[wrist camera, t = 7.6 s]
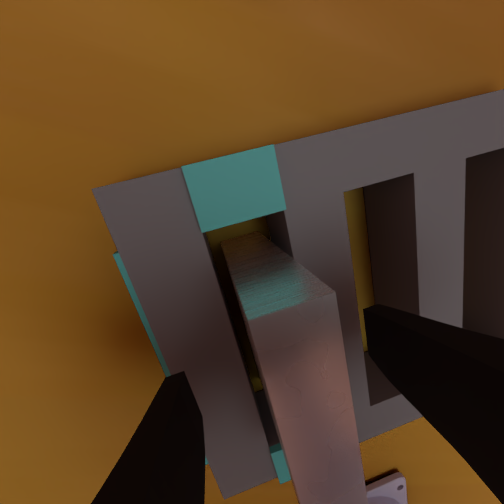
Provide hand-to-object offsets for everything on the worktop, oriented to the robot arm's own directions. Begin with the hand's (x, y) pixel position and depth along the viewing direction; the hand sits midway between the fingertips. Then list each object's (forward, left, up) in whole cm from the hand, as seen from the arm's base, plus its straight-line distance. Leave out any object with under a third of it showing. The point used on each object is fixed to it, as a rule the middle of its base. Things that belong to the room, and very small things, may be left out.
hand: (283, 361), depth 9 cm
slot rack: (0, -5, -4) cm, 6 cm away
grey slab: (0, 0, -4) cm, 4 cm away
